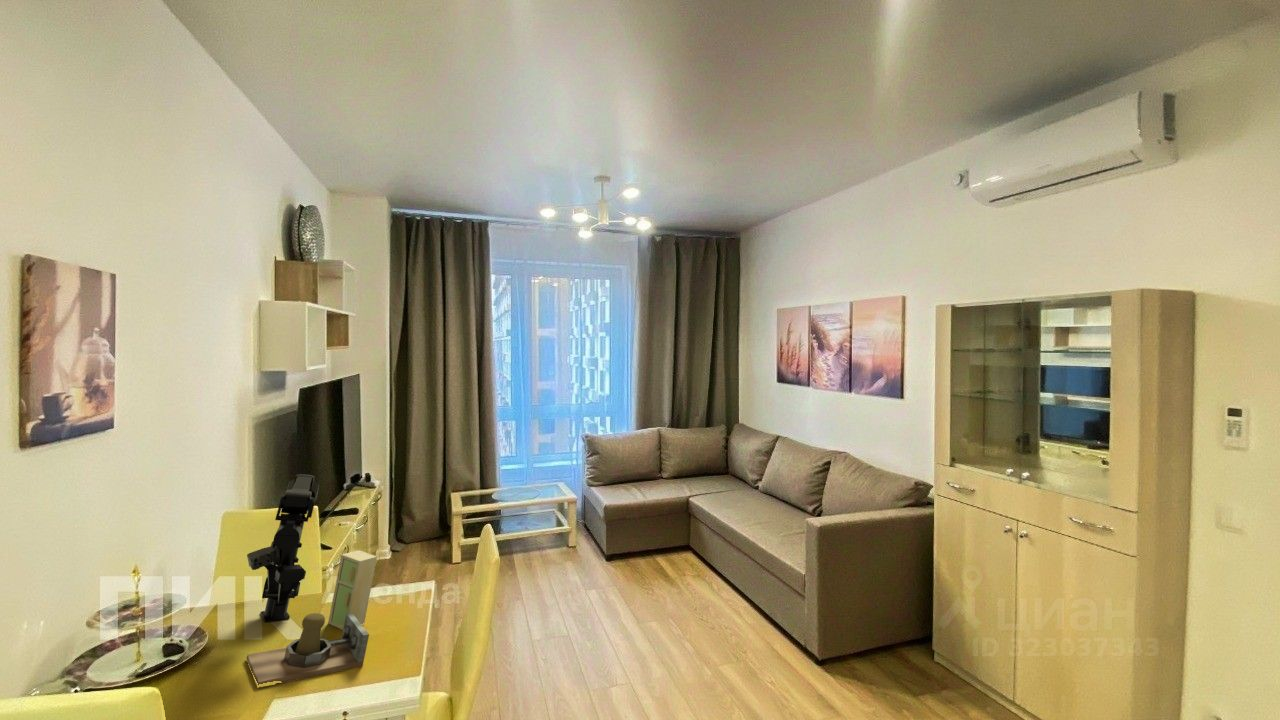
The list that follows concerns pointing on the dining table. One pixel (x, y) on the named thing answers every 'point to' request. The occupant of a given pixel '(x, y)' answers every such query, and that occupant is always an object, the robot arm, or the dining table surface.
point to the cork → (311, 634)
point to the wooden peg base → (340, 658)
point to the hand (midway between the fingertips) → (275, 595)
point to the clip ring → (320, 657)
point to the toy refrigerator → (352, 587)
